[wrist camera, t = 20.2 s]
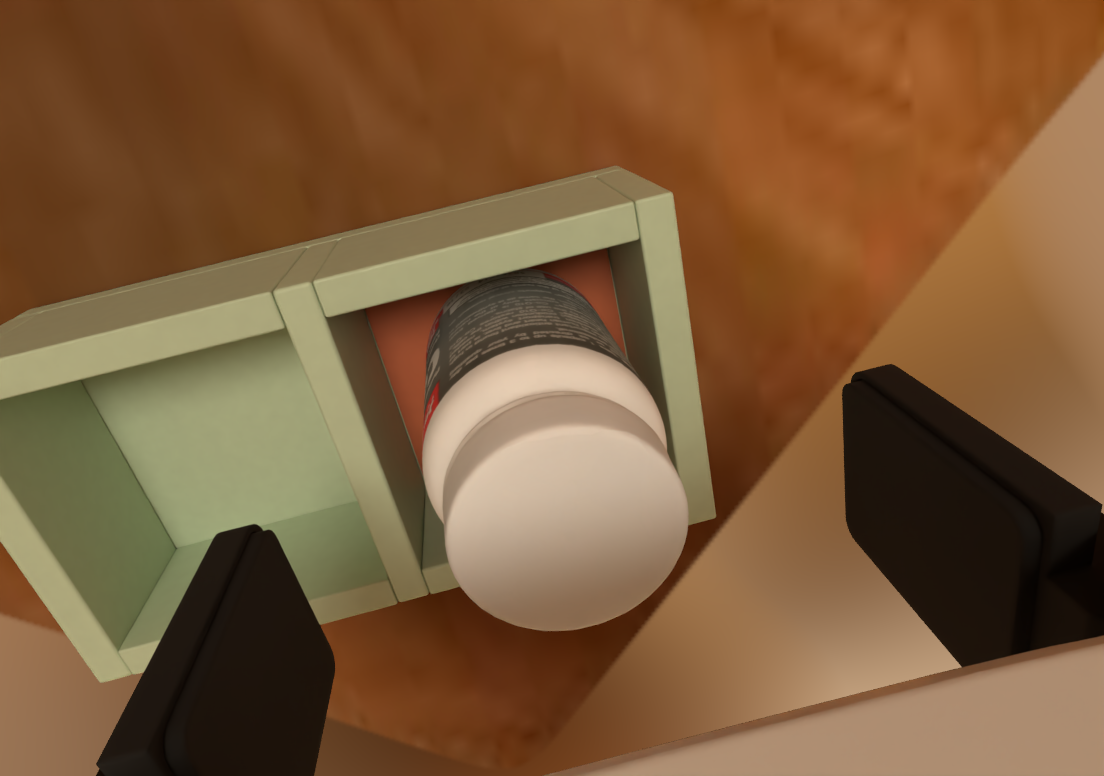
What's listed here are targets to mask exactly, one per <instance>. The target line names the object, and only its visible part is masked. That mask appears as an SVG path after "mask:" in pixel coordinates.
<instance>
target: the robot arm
mask: <svg viewBox="0 0 1104 776" xmlns="http://www.w3.org/2000/svg"><path fill="white" fill-rule="evenodd" d="M842 400H843V437H844V470H845V471H844V472H845V506H846V522H847V526H848V529H849V531H850V533H851V535H852V537H853V538H854V540H855V541H856V542H857V544H858V545H859V546H860V547H861V548H862V549H863V550H864V552H865V553H866V554H867V555H868V556H869V558H870V559H871V560H872V561H873V562H874V564H875V565H876V566H877V567H878V568H879V570H880V571H881V572H882V573H883V574H884V575H885V577H886V578H887V579H888V580H889V581H890V583H891V584H892V585H893V586H894V587H895V588H896V590H897V591H898V592H899V593H900V594H901V595H902V597H903V598H904V599H905V600H906V601H907V603H908V604H909V605H910V606H911V607H912V608H913V610H914V611H915V612H916V613H917V614H918V616H919V617H920V618H921V619H922V620H923V621H924V623H925V624H926V625H927V626H928V627H929V629H930V630H932V632H933V633H934V634H935V636H936V637H937V638H938V639H939V640H940V642H941V643H942V644H943V645H944V646H945V647H946V648H947V650H948V651H949V652H950V653H951V654H952V656H953V657H954V658H955V659H956V660H957V662H959V664H960V665H961V666H962V668H958V669H953V670H949V671H945V672H941V673H937V674H933V675H929V676H925V677H921V678H917V679H913V680H909V681H905V682H902V683H897V684H894V685H890V686H886V687H882V688H878V689H874V690H870V691H866V692H862V693H859V694H855V695H851V696H847V697H843V698H839V699H835V700H831V701H827V702H823V703H819V704H816V705H811V706H808V707H804V708H800V709H796V710H792V711H788V712H784V713H781V714H776V715H772V716H769V717H765V718H761V719H757V720H753V721H749V722H745V723H741V724H738V725H734V726H730V727H726V728H722V729H719V730H715V731H711V732H707V733H703V734H699V735H696V736H692V737H688V738H684V739H681V740H676V741H673V742H669V743H665V744H661V745H657V746H654V747H650V748H646V749H642V750H638V751H635V752H631V753H627V754H623V755H619V756H615V757H612V758H608V759H604V760H601V761H597V762H593V763H589V764H585V765H581V766H577V767H574V768H570V769H566V770H562V771H558V772H555V773H551V774H547V775H543V776H1104V514H1103V513H1101V509H1102V504H1101V503H1099V502H1098V501H1096V500H1095V499H1093V498H1092V497H1090V496H1089V495H1087V494H1086V493H1084V492H1083V491H1081V490H1080V489H1078V488H1077V487H1075V486H1074V485H1072V484H1071V483H1069V482H1068V481H1066V480H1065V479H1063V478H1062V477H1060V476H1059V475H1057V474H1056V473H1055V472H1053V471H1052V470H1050V469H1048V468H1047V467H1046V466H1044V465H1042V464H1041V463H1040V462H1038V461H1037V460H1035V459H1034V458H1032V457H1031V456H1029V455H1028V454H1026V453H1024V452H1023V451H1022V450H1020V449H1019V448H1017V447H1016V446H1014V445H1013V444H1011V443H1010V442H1008V441H1007V440H1005V439H1004V438H1002V437H1001V436H999V435H998V434H996V433H995V432H994V431H992V430H990V429H989V428H988V427H986V426H985V425H983V424H981V423H980V422H978V421H977V420H976V419H974V418H973V417H971V416H970V415H968V414H967V413H965V412H964V411H962V410H961V409H959V408H958V407H956V406H955V405H953V404H952V403H950V402H949V401H947V400H946V399H944V398H943V397H941V396H940V395H939V394H937V393H936V392H934V391H933V390H931V389H930V388H928V387H927V386H925V385H924V384H922V383H920V382H919V381H918V380H916V379H915V378H913V377H912V376H910V375H909V374H907V373H906V372H904V371H903V370H901V369H900V368H898V367H896V366H895V365H892V364H889V365H885V366H880V367H876V368H872V369H868V370H865V371H860V372H856V373H855V374H854V375H853V376H852V379H851V383H849V384H846V385H845V386H844V387H843V392H842ZM334 674H335V661H334V656H333V652H332V649H331V647H330V645H329V643H328V641H327V639H326V637H325V635H324V633H323V631H322V628H321V626H320V624H319V622H318V620H317V618H316V616H315V614H314V612H313V610H312V608H311V606H310V604H309V602H308V600H307V598H306V596H305V594H304V592H303V590H302V587H301V585H300V583H299V581H298V579H297V577H296V575H295V573H294V571H293V569H292V567H291V565H290V563H289V561H288V559H287V557H286V555H285V553H284V551H283V549H282V547H281V544H280V542H279V540H278V538H277V536H276V535H275V533H274V532H273V531H272V530H269V529H268V530H264V531H263V529H262V528H261V527H260V526H259V525H257V524H251V525H247V526H243V527H239V528H235V529H231V530H227V531H223V532H220V533H217V534H216V536H215V537H214V538H213V540H212V542H211V544H210V546H209V548H208V550H207V552H206V554H205V556H204V558H203V559H202V561H201V563H200V565H199V567H198V569H197V571H196V573H195V575H194V577H193V579H192V581H191V583H190V584H189V586H188V588H187V590H186V592H185V594H184V596H183V598H182V600H181V602H180V604H179V606H178V608H177V609H176V611H175V613H174V615H173V617H172V619H171V621H170V623H169V625H168V627H167V629H166V631H165V633H164V635H163V636H162V638H161V640H160V642H159V644H158V646H157V648H156V650H155V652H154V654H153V656H152V658H151V660H150V661H149V663H148V665H147V667H146V669H145V671H144V673H143V675H142V677H141V679H140V681H139V683H138V685H137V687H136V689H135V690H134V692H133V694H132V696H131V698H130V700H129V702H128V704H127V706H126V708H125V710H124V712H123V713H122V715H121V717H120V719H119V721H118V723H117V725H116V727H115V729H114V731H113V733H112V735H111V737H110V738H109V740H108V743H107V744H106V746H105V748H104V750H103V752H102V754H101V756H100V758H99V760H98V762H97V763H96V764H97V766H98V767H99V771H98V773H97V775H96V776H314V773H315V768H316V763H317V758H318V753H319V748H320V743H321V738H322V734H323V729H324V723H325V719H326V714H327V709H328V704H329V699H330V694H331V689H332V684H333V679H334Z"/></svg>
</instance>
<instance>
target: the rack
mask: <svg viewBox="0 0 1104 776" xmlns="http://www.w3.org/2000/svg"><path fill="white" fill-rule="evenodd" d="M525 268H528V269H537V270H541V271H545V272H548V273H551V274H554V275H556V276H558V277H560V278H562V279H563V280H565V281H567V282H568V283H570V284H571V285H572V286H574V287H575V288H576V289H577V290H579V291H580V292H581V293H582V294H583V295H584V296H585V298H586V299H587V300H588V301H589V302H590V304H591V305H592V306H593V307H594V309H595V310H596V312H597V313H598V315H599V316H600V318H601V320H602V321H603V323H604V325H605V326H606V328H607V329H608V331H609V332H610V334H611V335H612V337H613V338H614V340H615V341H616V343H617V344H618V346H619V347H620V349H621V350H622V352H623V353H624V355H625V356H626V358H627V359H628V361H629V362H630V364H631V365H632V367H633V368H634V369H635V371H636V372H637V374H638V375H639V377H640V378H641V380H642V381H643V382H644V384H645V385H646V387H647V389H648V390H649V392H650V394H651V396H652V397H653V399H654V401H655V403H656V405H657V407H658V410H659V412H660V415H661V418H662V421H663V424H664V428H665V434H666V441H667V453H668V455H669V458H670V460H671V462H672V464H673V466H674V468H675V470H676V471H677V473H678V475H679V477H680V479H681V481H682V484H683V487H684V490H685V494H686V497H687V502H688V512H689V515H688V517H689V522H688V525H691V524H695V523H699V522H703V521H706V520H710V519H714V518H715V517H716V511H715V503H714V496H713V488H712V481H711V473H710V466H709V458H708V451H707V444H706V436H705V429H704V421H703V414H702V406H701V399H700V391H699V384H698V376H697V369H696V361H695V354H694V347H693V339H692V332H691V324H690V317H689V309H688V302H687V294H686V287H685V279H684V272H683V264H682V257H681V250H680V242H679V235H678V227H677V220H676V212H675V205H674V197H673V193H672V192H671V191H669V190H667V189H664V188H662V187H660V186H658V185H656V184H654V183H652V182H650V181H648V180H646V179H644V178H642V177H640V176H638V175H636V174H634V173H632V172H630V171H628V170H625V169H623V168H621V167H619V166H612V167H608V168H604V169H600V170H596V171H592V172H588V173H584V174H580V175H575V176H571V177H567V178H563V179H559V180H555V181H551V182H547V183H543V184H539V185H535V186H531V187H527V188H523V189H518V190H514V191H510V192H506V193H502V194H498V195H494V196H490V197H486V198H482V199H478V200H474V201H470V202H466V203H461V204H457V205H453V206H449V207H445V208H441V209H437V210H433V211H429V212H425V213H421V214H417V215H413V216H408V217H404V218H400V219H396V220H392V221H388V222H384V223H380V224H376V225H372V226H368V227H364V228H360V229H356V230H351V231H347V232H343V233H339V234H335V235H331V236H327V237H323V238H319V239H315V240H311V241H307V242H303V243H298V244H294V245H290V246H286V247H282V248H278V249H274V250H270V251H266V252H262V253H258V254H254V255H250V256H246V257H241V258H237V259H233V260H229V261H225V262H221V263H217V264H213V265H209V266H205V267H201V268H197V269H193V270H188V271H184V272H180V273H176V274H172V275H168V276H164V277H160V278H156V279H152V280H148V281H144V282H140V283H136V284H131V285H127V286H123V287H119V288H115V289H111V290H107V291H103V292H99V293H95V294H91V295H87V296H83V297H79V298H74V299H70V300H66V301H62V302H58V303H54V304H50V305H46V306H42V307H38V308H34V309H30V310H28V311H26V312H24V313H22V314H21V315H19V316H17V317H15V318H14V319H11V320H9V321H8V322H6V323H4V324H2V325H0V541H1V543H2V544H3V546H4V547H5V548H6V550H7V551H8V553H9V554H10V556H11V557H12V558H13V560H14V561H15V563H16V564H17V566H18V567H19V568H20V570H21V571H22V573H23V574H24V576H25V577H26V578H27V580H28V581H29V583H30V584H31V585H32V587H33V588H34V590H35V591H36V593H37V594H38V595H39V597H40V598H41V600H42V601H43V603H44V604H45V605H46V607H47V608H48V610H49V611H50V613H51V614H52V615H53V617H54V618H55V620H56V621H57V622H58V624H59V625H60V627H61V628H62V630H63V631H64V632H65V634H66V635H67V637H68V638H69V640H70V641H71V642H72V644H73V645H74V647H75V648H76V649H77V651H78V652H79V654H80V655H81V657H82V658H83V659H84V661H85V662H86V664H87V665H88V667H89V668H90V669H91V671H92V672H93V674H94V675H95V677H96V678H97V679H98V681H99V682H101V683H103V682H107V681H111V680H114V679H118V678H122V677H126V676H129V675H131V674H134V675H135V674H139V673H143V672H144V671H145V669H146V667H147V665H148V663H149V661H150V660H151V658H152V656H153V654H154V652H155V650H156V648H157V646H158V644H159V642H160V640H161V638H162V636H163V635H164V633H165V631H166V629H167V627H168V625H169V623H170V621H171V619H172V617H173V615H174V613H175V611H176V609H177V608H178V606H179V604H180V602H181V600H182V598H183V596H184V594H185V592H186V590H187V588H188V586H189V584H190V583H191V581H192V579H193V577H194V575H195V573H196V571H197V569H198V567H199V565H200V563H201V561H202V559H203V558H204V556H205V554H206V552H207V550H208V548H209V546H210V544H211V542H212V540H213V538H214V537H215V536H216V534H217V533H220V532H223V531H227V530H231V529H235V528H239V527H243V526H247V525H251V524H257V525H259V526H260V527H261V528H262V529H263V531H264V530H268V529H269V530H272V531H273V532H274V533H275V535H276V536H277V538H278V540H279V542H280V544H281V547H282V549H283V551H284V553H285V555H286V557H287V559H288V561H289V563H290V565H291V567H292V569H293V571H294V573H295V575H296V577H297V579H298V581H299V583H300V585H301V587H302V590H303V592H304V594H305V596H306V598H307V600H308V602H309V604H310V606H311V608H312V610H313V612H314V614H315V616H316V618H317V620H318V622H319V624H320V625H321V624H325V623H329V622H332V621H336V620H340V619H343V618H347V617H351V616H355V615H358V614H362V613H366V612H369V611H373V610H377V609H381V608H384V607H388V606H392V605H395V604H397V603H398V601H399V602H404V601H407V600H411V599H415V598H418V597H422V596H426V595H428V593H429V592H430V593H431V594H435V593H438V592H442V591H446V590H450V589H453V588H457V587H460V585H459V583H458V582H457V580H456V578H455V577H454V574H453V572H452V570H451V568H450V565H449V562H448V558H447V553H446V547H445V536H444V524H443V522H442V521H441V520H440V518H439V517H438V515H437V513H436V511H435V509H434V508H433V506H432V503H431V501H430V499H429V497H428V493H427V490H426V486H425V481H424V476H423V468H422V440H423V422H424V400H425V379H426V351H427V344H428V339H429V334H430V331H431V327H432V325H433V323H434V320H435V318H436V316H437V314H438V313H439V311H440V309H441V308H442V306H443V305H444V303H445V302H446V301H447V300H448V299H449V298H450V297H451V295H452V294H453V293H455V292H456V291H457V290H458V289H459V288H460V287H462V286H463V285H464V284H466V283H469V282H473V281H477V280H481V279H485V278H489V277H493V276H497V275H501V274H505V273H509V272H513V271H517V270H521V269H525Z"/></svg>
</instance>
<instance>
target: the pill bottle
mask: <svg viewBox="0 0 1104 776" xmlns="http://www.w3.org/2000/svg"><path fill="white" fill-rule="evenodd" d="M422 468H423V476H424V481H425V486H426V490H427V493H428V497H429V499H430V501H431V503H432V506H433V508H434V509H435V511H436V513H437V515H438V517H439V518H440V520H441V521H442V522H443V524H444V536H445V547H446V553H447V558H448V562H449V565H450V568H451V570H452V572H453V574H454V577H455V578H456V580H457V582H458V583H459V585H460V587H461V588H462V589H463V591H464V592H465V593H466V594H467V595H468V597H469V598H470V599H471V600H472V601H473V602H475V603H476V604H477V605H478V606H479V607H480V608H481V609H483V610H484V611H486V612H488V613H489V614H491V615H493V616H494V617H496V618H498V619H501V620H503V621H505V622H507V623H511V624H513V625H516V626H518V627H524V628H529V629H534V630H541V631H566V630H576V629H581V628H585V627H589V626H593V625H598V624H601V623H604V622H606V621H609V620H611V619H613V618H615V617H618V616H620V615H622V614H624V613H626V612H628V611H630V610H631V609H633V608H634V607H636V606H637V605H639V604H640V603H641V602H643V601H644V600H645V599H646V598H648V597H649V596H650V595H651V594H652V593H653V592H654V591H655V590H656V589H657V588H658V587H659V586H660V585H661V584H662V583H663V582H664V580H665V579H666V578H667V577H668V575H669V574H670V573H671V571H672V570H673V568H674V566H675V564H676V562H677V560H678V558H679V557H680V555H681V552H682V550H683V547H684V544H685V540H686V536H687V531H688V522H689V517H688V515H689V512H688V502H687V497H686V494H685V490H684V487H683V484H682V481H681V479H680V477H679V475H678V473H677V471H676V470H675V468H674V466H673V464H672V462H671V460H670V458H669V455H668V453H667V441H666V434H665V428H664V424H663V421H662V418H661V415H660V412H659V410H658V407H657V405H656V403H655V401H654V399H653V397H652V396H651V394H650V392H649V390H648V389H647V387H646V385H645V384H644V382H643V381H642V380H641V378H640V377H639V375H638V374H637V372H636V371H635V369H634V368H633V367H632V365H631V364H630V362H629V361H628V359H627V358H626V356H625V355H624V353H623V352H622V350H621V349H620V347H619V346H618V344H617V343H616V341H615V340H614V338H613V337H612V335H611V334H610V332H609V331H608V329H607V328H606V326H605V325H604V323H603V321H602V320H601V318H600V316H599V315H598V313H597V312H596V310H595V309H594V307H593V306H592V305H591V304H590V302H589V301H588V300H587V299H586V298H585V296H584V295H583V294H582V293H581V292H580V291H579V290H577V289H576V288H575V287H574V286H572V285H571V284H570V283H568V282H567V281H565V280H563V279H562V278H560V277H558V276H556V275H554V274H551V273H548V272H545V271H541V270H537V269H528V268H525V269H521V270H517V271H513V272H509V273H505V274H501V275H497V276H493V277H489V278H485V279H481V280H477V281H473V282H469V283H466V284H464V285H463V286H462V287H460V288H459V289H458V290H457V291H456V292H455V293H453V294H452V295H451V297H450V298H449V299H448V300H447V301H446V302H445V303H444V305H443V306H442V308H441V309H440V311H439V313H438V314H437V316H436V318H435V320H434V323H433V325H432V327H431V331H430V334H429V339H428V344H427V351H426V379H425V400H424V422H423V440H422Z"/></svg>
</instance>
